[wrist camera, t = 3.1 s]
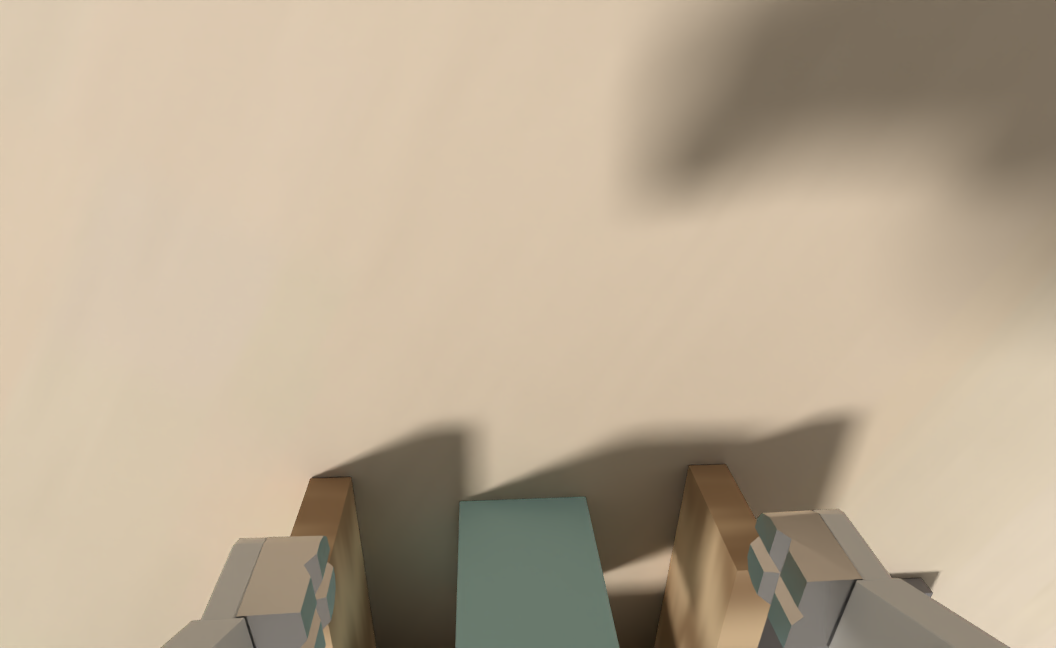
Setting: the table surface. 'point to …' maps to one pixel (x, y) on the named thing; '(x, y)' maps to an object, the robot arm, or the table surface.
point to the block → (530, 576)
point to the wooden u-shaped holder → (691, 589)
